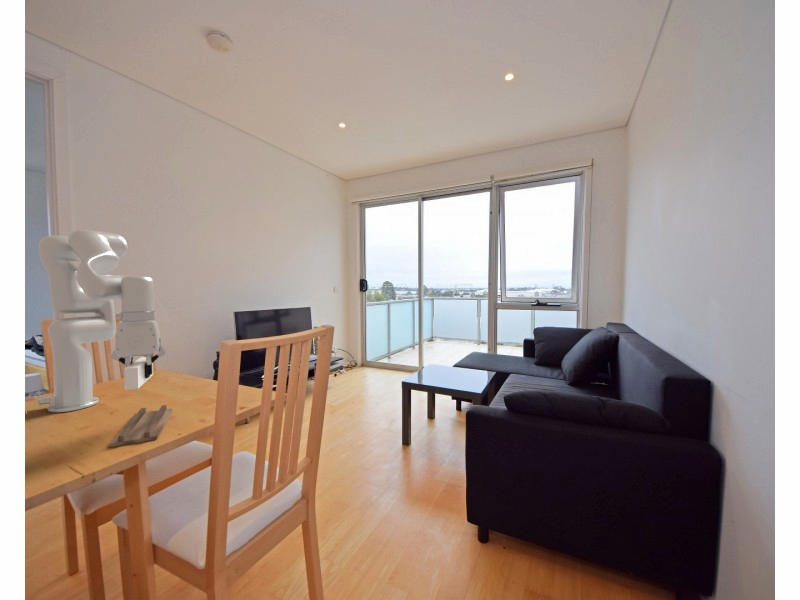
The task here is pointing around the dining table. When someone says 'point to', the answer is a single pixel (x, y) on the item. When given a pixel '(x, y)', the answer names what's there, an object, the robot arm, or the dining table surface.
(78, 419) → the dining table surface
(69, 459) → the dining table surface
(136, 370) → the white strip
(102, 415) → the dining table surface
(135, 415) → the walnut rack
